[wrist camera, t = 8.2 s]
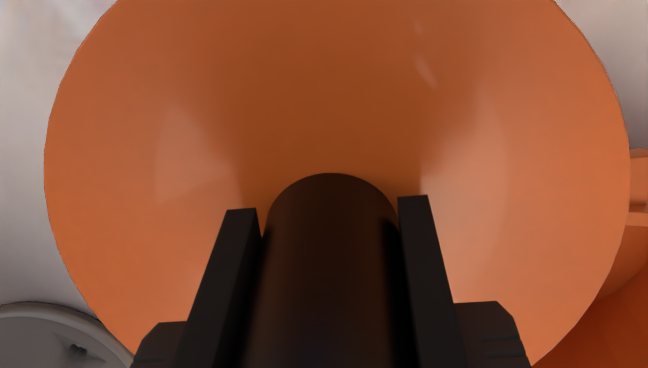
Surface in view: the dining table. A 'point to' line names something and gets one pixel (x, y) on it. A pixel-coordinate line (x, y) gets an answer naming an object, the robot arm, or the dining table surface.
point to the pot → (616, 297)
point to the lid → (337, 166)
